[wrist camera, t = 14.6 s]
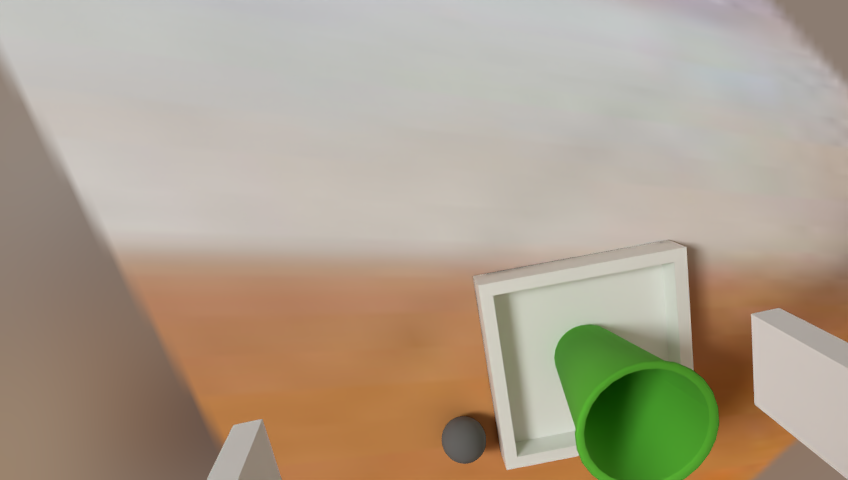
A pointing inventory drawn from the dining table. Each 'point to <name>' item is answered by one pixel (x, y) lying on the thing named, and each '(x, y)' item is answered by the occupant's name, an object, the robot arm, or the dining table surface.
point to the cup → (634, 408)
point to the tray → (560, 312)
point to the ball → (463, 439)
